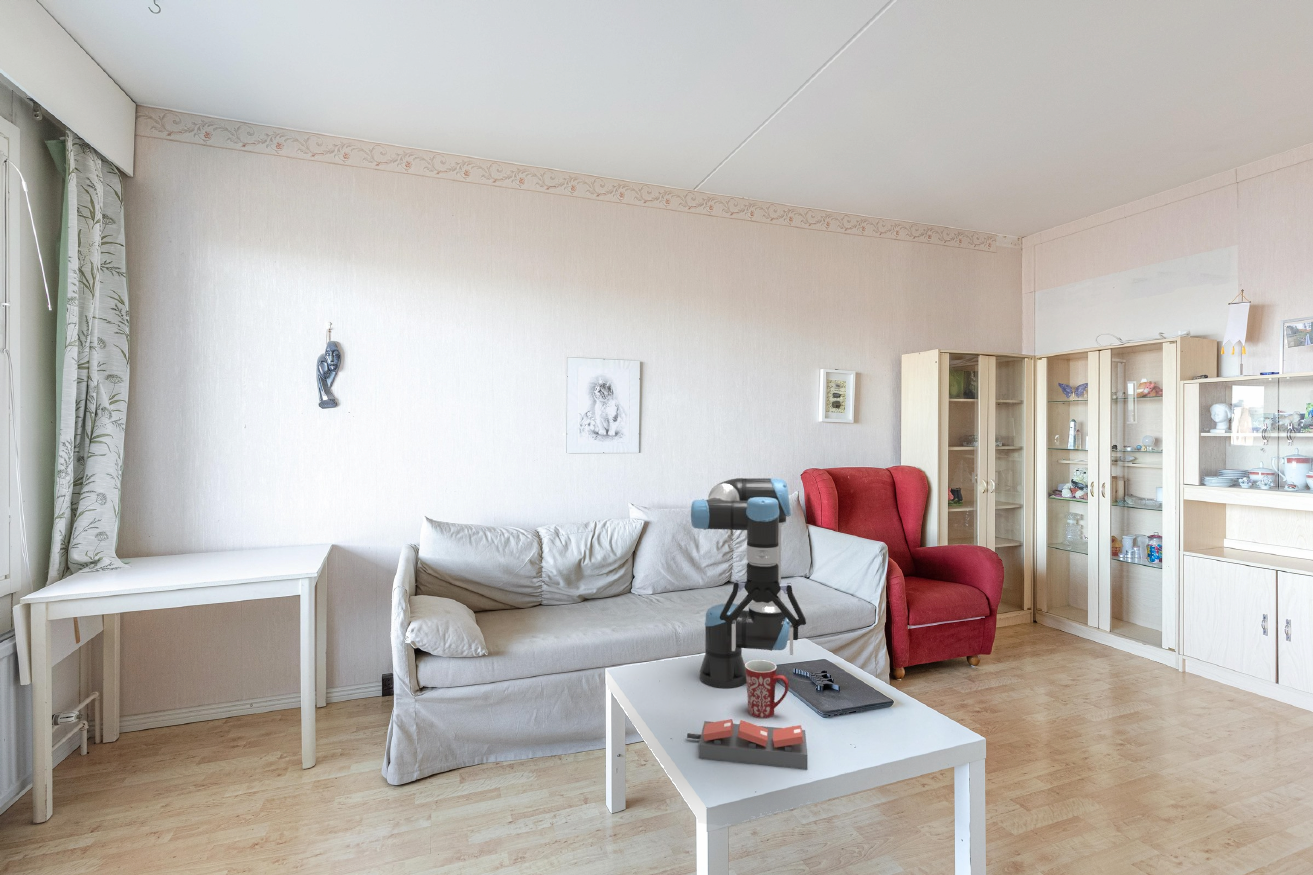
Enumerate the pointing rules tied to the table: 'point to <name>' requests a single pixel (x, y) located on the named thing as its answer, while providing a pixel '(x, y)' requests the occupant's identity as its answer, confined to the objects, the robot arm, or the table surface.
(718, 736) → the rocker
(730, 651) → the robot arm
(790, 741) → the block
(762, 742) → the red box
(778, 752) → the power strip
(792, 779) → the table surface
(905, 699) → the table surface
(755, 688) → the mug
